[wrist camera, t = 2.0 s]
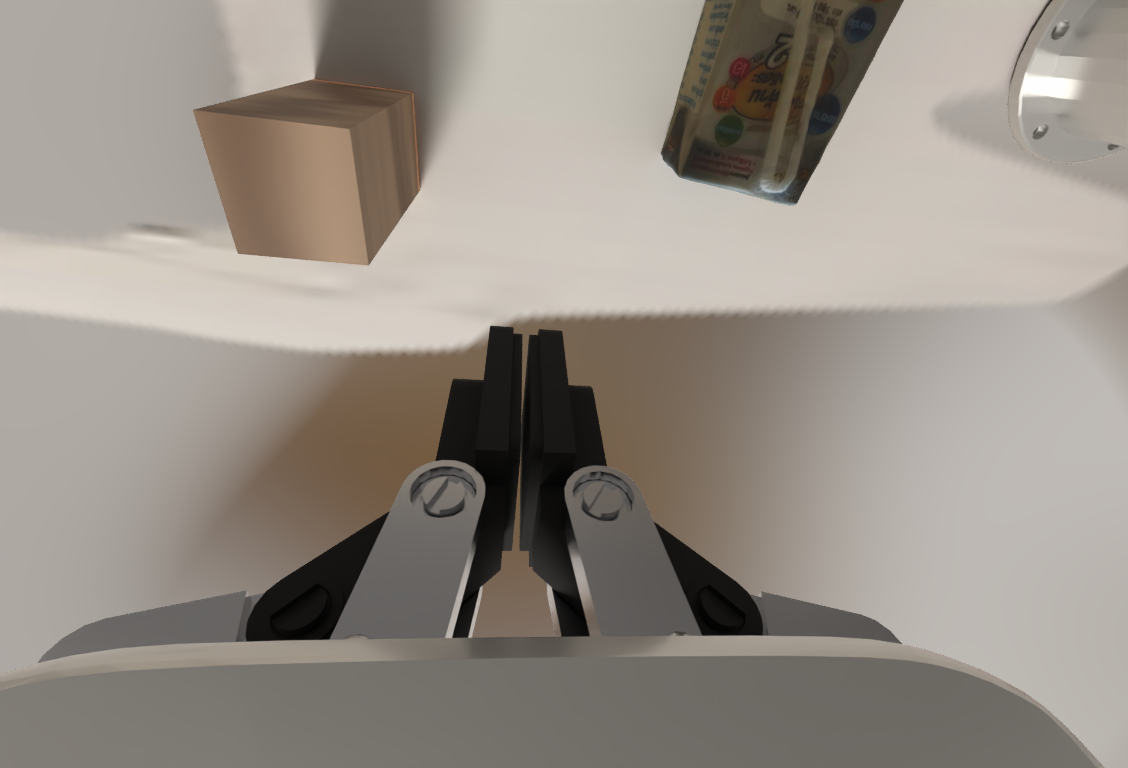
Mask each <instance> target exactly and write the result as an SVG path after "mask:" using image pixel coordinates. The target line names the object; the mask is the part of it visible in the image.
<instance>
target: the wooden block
mask: <svg viewBox="0 0 1128 768" xmlns="http://www.w3.org/2000/svg"><path fill="white" fill-rule="evenodd" d="M193 112H194V115H195V118H196V121H197V124H198V128H199V131H200V134H201V137H202V140H203V144H204V147H205V150H206V153H207V156H208V160H209V163H210V166H211V169H212V172H213V175H214V178H215V182H216V185H217V188H218V191H219V195H220V198H221V201H222V204H223V207H224V211H225V213H226V217H227V220H228V223H229V226H230V230H231V233H232V236H233V239H234V242H235V246H236V249H237V252H238V254H247V255H259V256H270V257H281V258H292V259H303V260H314V261H325V262H336V263H348V264H359V265H369V264H370V263H371V261H372V260H373V258H374V257H375V255H376V254H377V252H378V251H379V249H380V248H381V247H382V245H383V244H384V242H385V241H386V239H387V238H388V236H389V235H390V233H391V232H392V230H393V229H394V227H395V226H396V225H397V223H398V222H399V220H400V219H401V217H402V216H403V214H404V213H405V211H406V210H407V208H408V207H409V205H410V204H411V203H412V201H413V200H414V198H415V197H416V195H417V194H418V192H419V191H420V183H419V168H418V152H417V136H416V120H415V104H414V92H408V91H401V90H393V89H386V88H378V87H371V86H363V85H355V84H348V83H340V82H333V81H325V80H318V79H313V80H309V81H305V82H301V83H297V84H293V85H289V86H285V87H281V88H278V89H274V90H270V91H266V92H262V93H258V94H254V95H250V96H246V97H242V98H238V99H234V100H230V101H226V102H223V103H219V104H215V105H211V106H207V107H203V108H199V109H195V110H193Z"/></svg>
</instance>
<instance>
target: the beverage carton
mask: <svg viewBox="0 0 1128 768" xmlns="http://www.w3.org/2000/svg"><path fill="white" fill-rule="evenodd" d="M903 1H904V0H706V3H705V6H704V10H703V13H702V16H701V19H700V22H699V25H698V29H697V32H696V35H695V39H694V42H693V46H692V49H691V52H690V56H689V59H688V63H687V66H686V69H685V73H684V76H683V79H682V83H681V87H680V90H679V94H678V98H677V102H676V106H675V110H674V114H673V117H672V120H671V123H670V126H669V130H668V133H667V137H666V140H665V143H664V146H663V149H662V151H661V155H662V156H663V160H664V161H665V162H666V163H667V165H668V166H669V167H671V168H672V169H673V170H674V172H675V173H676V174H677V175H678V176H679V177H680V178H683V179H687V180H691V181H694V182H699V183H703V184H708V185H712V186H716V187H720V188H724V189H729V190H733V191H737V192H740V193H743V194H746V195H749V196H754V197H758V198H761V199H765V200H768V201H772V202H776V203H780V204H785V205H796V204H797V202H798V200H799V198H800V196H801V194H802V192H803V190H804V188H805V186H806V185H807V183H808V181H809V179H810V177H811V175H812V174H813V172H814V170H815V169H816V167H817V165H818V164H819V162H820V160H821V157H822V155H823V153H824V151H825V148H826V147H827V145H828V143H829V142H830V140H831V138H832V136H833V135H834V133H835V131H836V129H837V127H838V125H839V123H840V121H841V119H842V118H843V116H844V114H845V112H846V110H847V108H848V106H849V104H850V102H851V100H852V98H853V96H854V94H855V92H856V91H857V89H858V87H859V85H860V83H861V81H862V80H863V78H864V76H865V74H866V72H867V70H868V67H869V66H870V64H871V62H872V60H873V58H874V57H875V54H876V52H877V50H878V48H879V46H880V44H881V42H882V40H883V38H884V36H885V34H886V33H887V31H888V29H889V27H890V25H891V23H892V21H893V20H894V18H895V16H896V14H897V12H898V10H899V9H900V7H901V5H902V3H903Z"/></svg>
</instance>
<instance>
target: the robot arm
mask: <svg viewBox="0 0 1128 768" xmlns="http://www.w3.org/2000/svg"><path fill="white" fill-rule="evenodd" d="M1008 120H1009V125H1010V128H1011V131H1012V134H1013V137H1014V139H1015V140H1016V141H1017V142H1018V144H1019V145H1020V147H1021V148H1022V149H1023V150H1025V151H1026V152H1028V153H1029V154H1031V155H1032V156H1035V157H1038V158H1041V159H1044V160H1048V161H1051V162H1059V163H1065V164H1069V163H1081V162H1088V161H1091V160H1095V159H1099V158H1103V157H1106V156H1108V155H1111V154H1113V153H1116V152H1118V151H1121V150H1123V149H1125V148H1127V147H1128V0H1052V2H1051V3H1050V4H1049V6H1048V7H1047V8H1046V10H1045V12H1044V13H1043V15H1042V16H1041V18H1040V20H1039V21H1038V23H1037V24H1036V26H1035V28H1034V29H1033V31H1032V32H1031V34H1030V36H1029V38H1028V40H1027V42H1026V45H1025V47H1024V49H1023V51H1022V53H1021V55H1020V57H1019V59H1018V62H1017V65H1016V69H1015V72H1014V75H1013V78H1012V81H1011V85H1010V92H1009V98H1008ZM521 394H522V334H513V327H501V326H490V332H489V341H488V349H487V357H486V366H485V374H484V380H468V379H453V381H452V385H451V390H450V394H449V399H448V404H447V409H446V413H445V418H444V423H443V428H442V433H441V437H440V443H439V447H438V452H437V457H436V461H435V462H430V463H428V464H426V465H423V466H421V467H419V468H418V469H416V470H415V471H414V472H412V473H411V474H410V475H409V476H408V477H407V479H406V481H405V482H404V483H403V485H402V487H401V489H400V491H399V493H398V495H397V498H396V500H395V502H394V504H393V506H392V508H391V510H390V511H389V512H388V513H386V514H385V515H383V516H381V517H380V518H378V519H377V520H375V521H373V522H372V523H370V524H369V525H367V526H365V527H364V528H362V529H361V530H359V531H358V532H356V533H354V534H353V535H351V536H350V537H348V538H347V539H345V540H343V541H342V542H340V543H339V544H337V545H335V546H334V547H332V548H331V549H329V550H327V551H326V552H324V553H323V554H321V555H320V556H318V557H316V558H315V559H313V560H312V561H310V562H308V563H307V564H305V565H304V566H302V567H301V568H299V569H297V570H296V571H294V572H293V573H291V574H289V575H288V576H286V577H285V578H283V579H282V580H280V581H279V582H278V583H276V584H275V585H274V586H273V587H271V588H270V589H269V590H267V591H266V592H265V593H263V594H258V595H253V596H249V594H248V592H247V591H242V592H237V593H232V594H227V595H222V596H217V597H212V598H206V599H201V600H196V601H191V602H187V603H181V604H176V605H171V606H166V607H161V608H156V609H151V610H146V611H141V612H136V613H131V614H125V615H121V616H116V617H111V618H106V619H103V620H100V621H97V622H94V623H91V624H88V625H85V626H83V627H81V628H79V629H78V630H76V631H74V632H73V633H71V634H69V635H68V636H66V637H64V638H62V639H61V640H60V641H59V642H58V643H57V644H55V645H54V646H53V647H52V648H51V649H50V650H49V651H47V652H46V653H45V654H44V655H43V656H42V658H41V659H40V660H39V662H38V663H37V664H33V665H30V666H26V667H23V668H19V669H16V670H12V671H9V672H6V673H2V674H0V768H1104V767H1103V766H1102V764H1101V763H1100V762H1099V761H1098V760H1097V759H1096V758H1095V757H1094V756H1093V755H1092V753H1091V752H1090V751H1089V750H1088V749H1087V748H1086V747H1085V746H1084V745H1083V743H1082V742H1081V741H1079V739H1078V738H1077V737H1076V736H1075V735H1074V734H1073V733H1072V732H1071V731H1070V730H1069V729H1068V728H1067V727H1066V726H1065V725H1064V724H1063V723H1062V722H1061V721H1060V720H1058V719H1057V718H1056V717H1055V716H1054V715H1053V714H1052V713H1051V712H1050V711H1048V710H1047V709H1046V708H1045V707H1044V706H1042V705H1041V704H1040V703H1038V702H1037V701H1036V700H1034V699H1033V698H1031V697H1030V696H1029V695H1027V694H1026V693H1024V692H1023V691H1021V690H1019V689H1017V688H1015V687H1014V686H1012V685H1010V684H1008V683H1006V682H1005V681H1003V680H1001V679H999V678H997V677H995V676H993V675H991V674H989V673H986V672H984V671H983V670H981V669H978V668H976V667H973V666H970V665H968V664H965V663H962V662H960V661H957V660H955V659H952V658H949V657H946V656H944V655H941V654H937V653H934V652H931V651H928V650H924V649H920V648H916V647H912V646H908V645H903V644H902V643H901V642H900V641H899V640H898V639H897V638H896V637H895V636H894V635H893V633H892V632H891V631H890V630H888V629H887V628H886V627H884V626H883V625H881V624H880V623H879V622H877V621H876V620H873V619H871V618H868V617H866V616H863V615H860V614H856V613H852V612H847V611H843V610H839V609H834V608H830V607H826V606H821V605H817V604H813V603H809V602H804V601H800V600H796V599H791V598H787V597H783V596H778V595H774V594H770V593H765V592H761V593H760V594H759V595H758V596H754V595H750V594H749V593H748V592H747V591H746V590H745V589H744V588H743V587H741V586H740V585H739V584H738V583H737V582H736V581H734V580H733V579H732V578H730V577H729V576H728V575H726V574H725V573H723V572H722V571H721V570H719V569H718V568H717V567H715V566H714V565H712V564H711V563H710V562H708V561H707V560H706V559H704V558H703V557H701V556H700V555H699V554H697V553H696V552H695V551H693V550H692V549H691V548H689V547H688V546H686V545H685V544H684V543H682V542H681V541H680V540H678V539H677V538H675V537H674V536H673V535H671V534H670V533H669V532H667V531H666V530H664V529H663V528H662V527H660V526H659V525H658V524H656V523H655V522H654V521H653V519H652V517H651V515H650V512H649V510H648V508H647V505H646V503H645V501H644V498H643V496H642V493H641V491H640V490H639V488H638V486H637V485H636V483H635V482H634V481H633V480H632V479H631V478H630V477H629V476H627V475H626V474H624V473H623V472H620V471H619V470H617V469H614V468H611V467H607V464H606V459H605V453H604V449H603V442H602V437H601V431H600V426H599V421H598V415H597V410H596V404H595V399H594V394H593V390H592V388H591V387H590V386H572V385H568V377H567V369H566V360H565V352H564V343H563V334H562V331H557V330H542V329H539V332H538V335H529V344H528V356H527V368H526V379H525V389H524V401H523V412H522V424H521V400H522V395H521ZM520 452H521V477H520V480H521V482H520V551H529V567H533V570H534V572H536V573H537V574H538V575H539V576H540V577H541V578H542V579H543V580H544V581H545V582H546V583H547V595H548V601H549V606H550V611H551V616H552V622H553V627H554V632H555V637H506V638H505V637H502V638H501V637H500V638H499V637H497V638H472V633H473V629H474V625H475V621H476V616H477V612H478V608H479V603H480V600H481V595H482V585H484V584H485V583H486V582H487V581H488V580H489V579H490V578H492V577H493V576H494V575H495V574H496V573H497V572H498V571H499V570H501V558H502V551H511V550H512V542H513V530H514V520H515V509H516V497H517V486H518V477H519V476H518V475H519V465H520Z"/></svg>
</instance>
